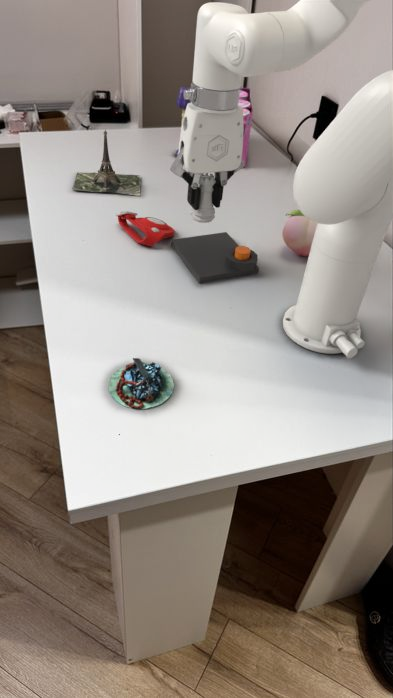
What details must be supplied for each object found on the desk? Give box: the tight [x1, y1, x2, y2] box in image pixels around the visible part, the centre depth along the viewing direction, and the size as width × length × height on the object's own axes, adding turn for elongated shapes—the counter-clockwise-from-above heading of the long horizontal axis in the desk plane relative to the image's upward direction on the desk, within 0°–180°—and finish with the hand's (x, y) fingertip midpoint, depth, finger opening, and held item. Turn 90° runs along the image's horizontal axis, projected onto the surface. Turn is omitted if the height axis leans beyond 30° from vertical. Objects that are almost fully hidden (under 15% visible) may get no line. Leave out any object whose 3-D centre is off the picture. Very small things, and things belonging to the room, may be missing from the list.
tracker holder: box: [115, 210, 175, 247], centre depth 105 cm, size 12×4×10 cm
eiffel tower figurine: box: [72, 129, 141, 197], centre depth 119 cm, size 15×10×13 cm
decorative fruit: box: [281, 209, 318, 257], centre depth 102 cm, size 9×8×10 cm
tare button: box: [235, 245, 252, 260], centre depth 97 cm, size 3×3×2 cm
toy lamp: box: [174, 86, 191, 158], centre depth 135 cm, size 5×5×17 cm
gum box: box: [238, 86, 254, 168], centre depth 141 cm, size 24×8×14 cm, turn 177°
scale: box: [170, 231, 260, 285], centre depth 100 cm, size 14×12×3 cm
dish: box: [108, 357, 175, 410], centre depth 74 cm, size 8×7×8 cm
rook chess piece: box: [190, 173, 216, 224], centre depth 94 cm, size 4×4×8 cm
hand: (204, 204), depth 95 cm, fingers closed on rook chess piece, 3 cm apart
